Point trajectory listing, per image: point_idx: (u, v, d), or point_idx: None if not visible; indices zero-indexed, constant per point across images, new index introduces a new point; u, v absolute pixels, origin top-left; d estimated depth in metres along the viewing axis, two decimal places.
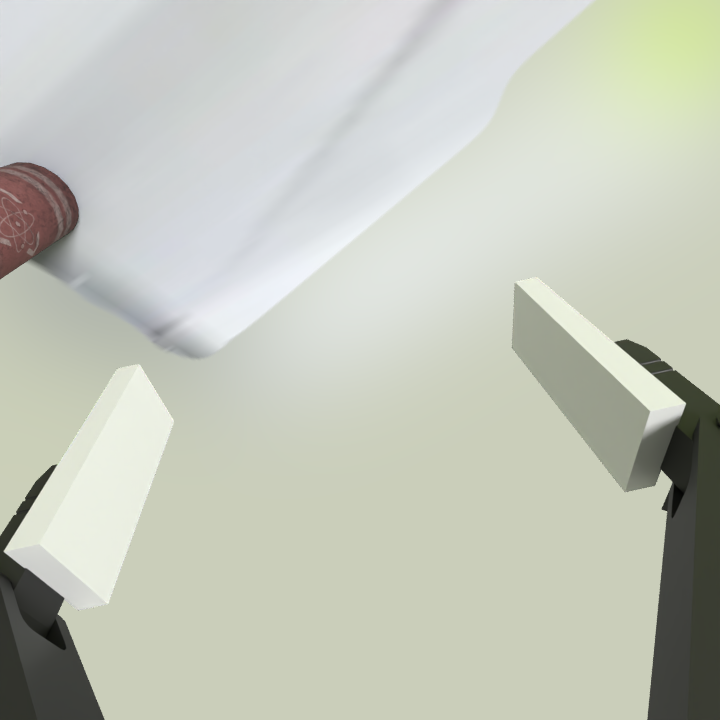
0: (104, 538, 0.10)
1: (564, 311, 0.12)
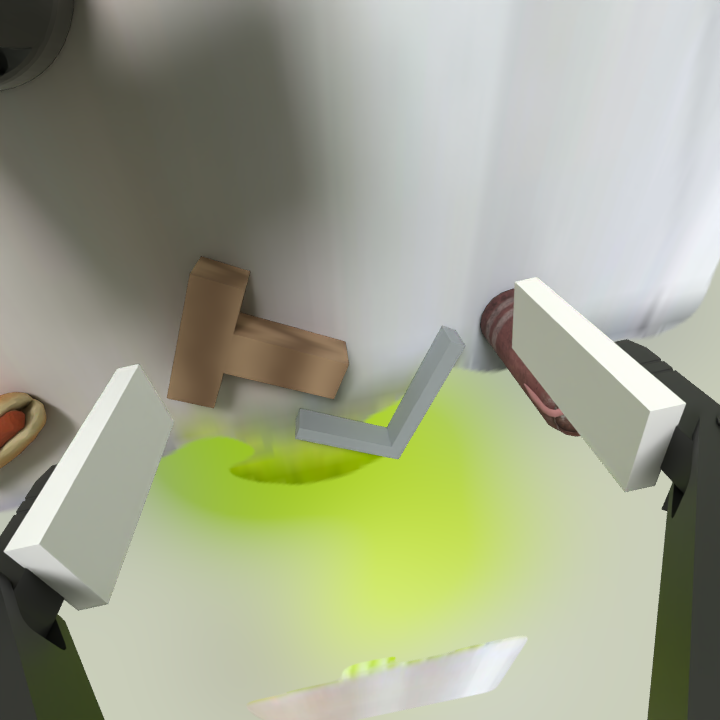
0: (104, 538, 0.10)
1: (564, 311, 0.12)
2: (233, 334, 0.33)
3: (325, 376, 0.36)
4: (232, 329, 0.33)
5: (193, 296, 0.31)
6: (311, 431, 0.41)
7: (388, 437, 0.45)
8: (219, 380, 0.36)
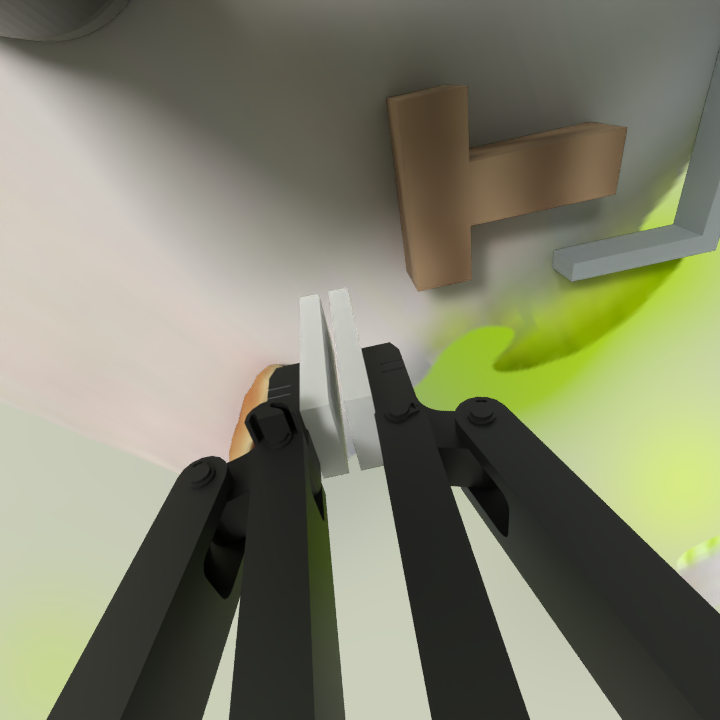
0: (339, 421, 0.12)
1: (344, 318, 0.14)
2: (469, 162, 0.26)
3: (598, 163, 0.27)
4: (466, 155, 0.25)
5: (410, 132, 0.24)
6: (590, 262, 0.32)
7: (687, 229, 0.33)
8: (468, 238, 0.28)
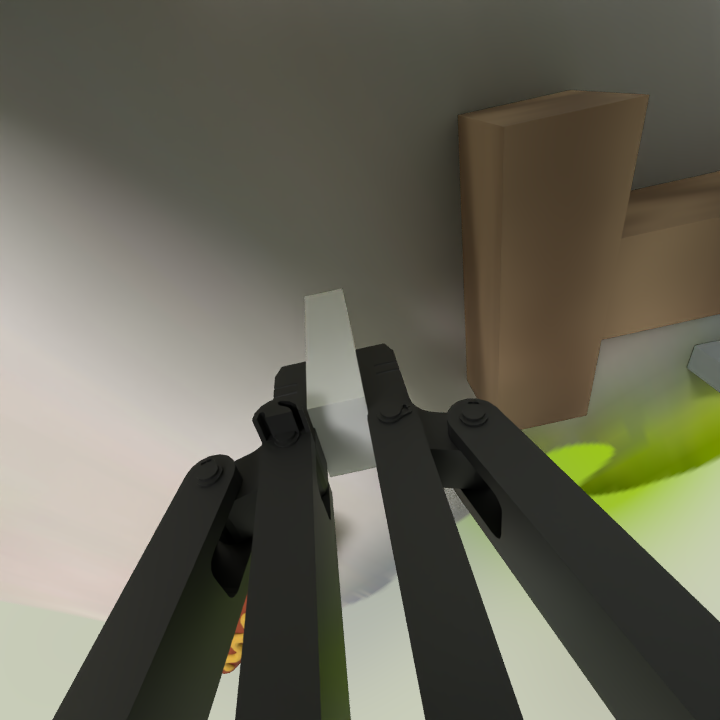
0: None
1: (339, 319, 0.14)
2: (621, 239, 0.13)
3: None
4: (619, 227, 0.13)
5: (520, 186, 0.12)
6: None
7: None
8: (594, 358, 0.16)
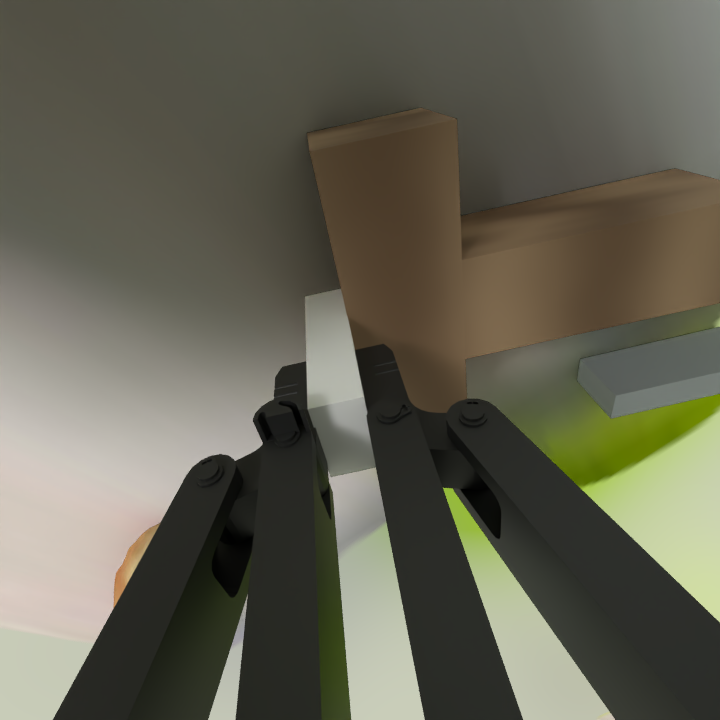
0: None
1: (338, 319, 0.14)
2: (462, 261, 0.13)
3: (704, 255, 0.14)
4: (457, 249, 0.13)
5: (342, 210, 0.12)
6: (642, 392, 0.19)
7: None
8: (462, 376, 0.16)
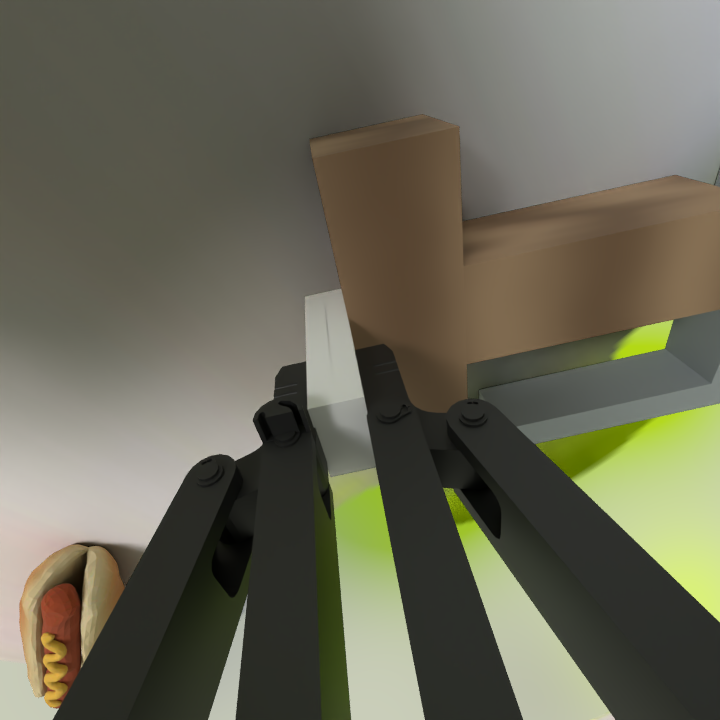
0: None
1: (338, 319, 0.14)
2: (464, 267, 0.13)
3: (704, 261, 0.14)
4: (458, 255, 0.13)
5: (344, 216, 0.12)
6: (528, 426, 0.19)
7: (686, 365, 0.20)
8: (463, 382, 0.16)
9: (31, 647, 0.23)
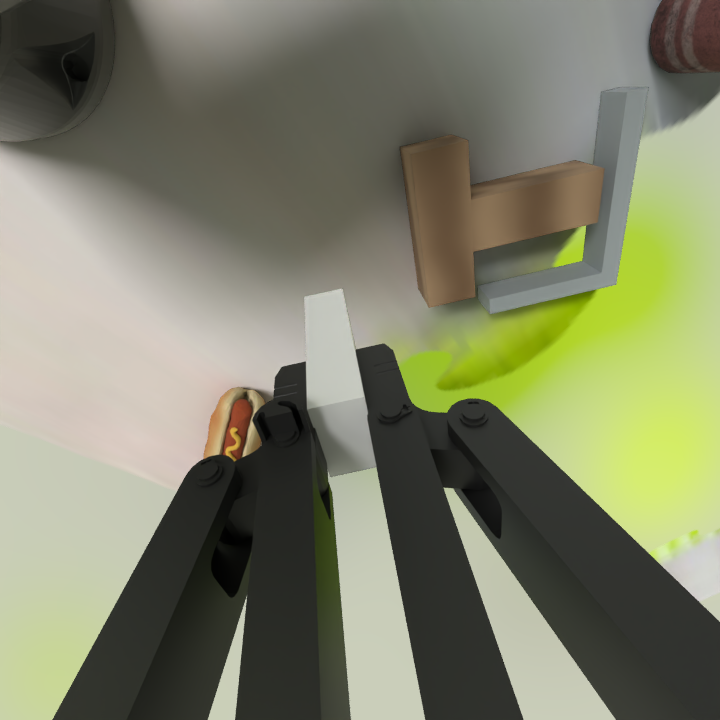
0: None
1: (339, 319, 0.14)
2: (471, 200, 0.30)
3: (581, 198, 0.31)
4: (468, 195, 0.30)
5: (421, 177, 0.29)
6: (504, 297, 0.36)
7: (591, 267, 0.37)
8: (472, 262, 0.33)
9: (219, 442, 0.40)
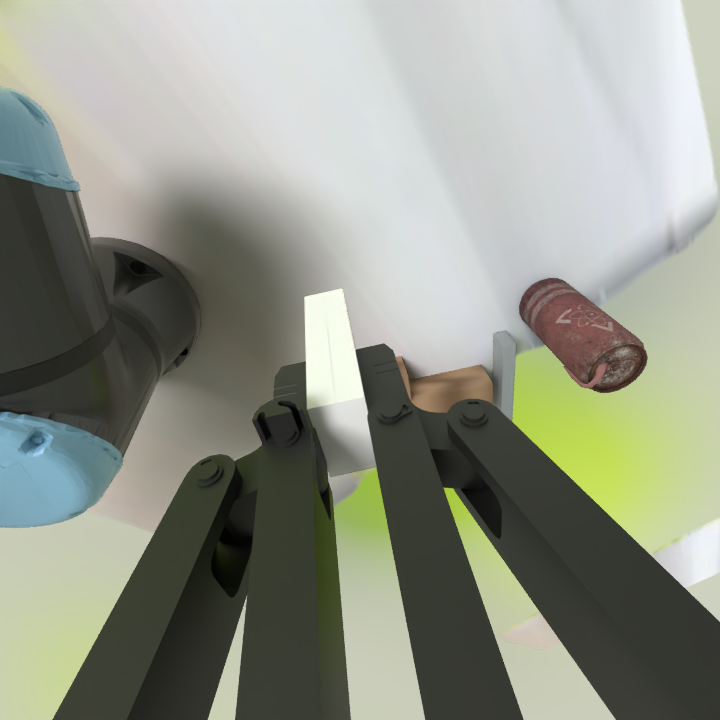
0: None
1: (339, 319, 0.14)
2: (411, 401, 0.50)
3: (480, 397, 0.50)
4: None
5: None
6: None
7: None
8: None
9: None
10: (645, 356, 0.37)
